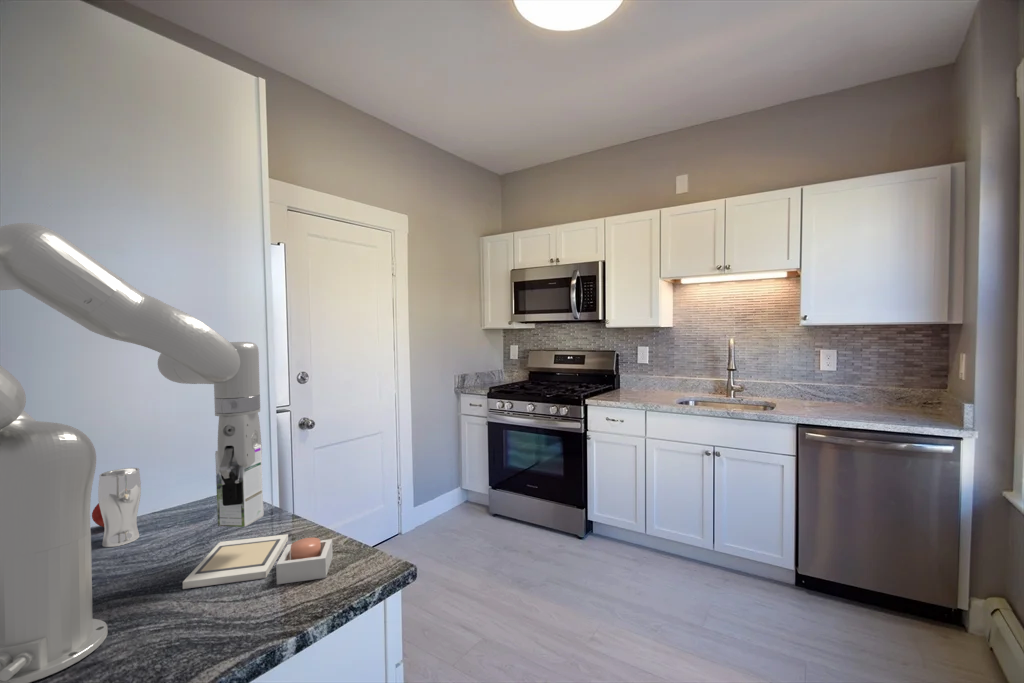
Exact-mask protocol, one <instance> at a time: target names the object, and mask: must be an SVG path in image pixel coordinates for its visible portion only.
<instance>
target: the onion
mask: <svg viewBox="0 0 1024 683" xmlns="http://www.w3.org/2000/svg"><path fill="white" fill-rule="evenodd" d="M91 519H92V521H93V522H94V523H95V524H96V525H98V526H99V527H103V528H104V522H103V518H102V514H101V510H100V506H99V502H98V503H97V504H96V505H95V507H94V508H93V510H92V513H91Z"/></svg>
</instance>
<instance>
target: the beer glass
mask: <svg viewBox="0 0 1024 683" xmlns="http://www.w3.org/2000/svg"><path fill="white" fill-rule="evenodd" d="M98 476H99V477H98V486H97V487H98V490H97V491H98V492H97V495H98V496H97V497H98V498H97V499H98V503H99V506H100V510H101V514H102V518H103V522H104V527H103V528H104V533H103V538H102V543H101V545H102V547H104V548H114V547H119V546H124V545H127V544H131V543H133V542H135V541H137V540H138V539H139V538H140V532H139V528H138V525H137V524H138V522H137V521H138V513H139V512H138V511H139V506H140V503H141V495H142V485H141V483H142V482H141V481H142V480H141V474H140V469H139V468H138V467H124V468H118V469H117V468H116V469H113V470H109V471H105V472H101V473H100V474H99V475H98Z"/></svg>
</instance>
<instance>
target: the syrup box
mask: <svg viewBox="0 0 1024 683" xmlns="http://www.w3.org/2000/svg"><path fill="white" fill-rule="evenodd" d="M254 448H255V450H254V451H255V462H253V463H252V464H251V465H250V466H248V467H244V466H241V480H240V482H243V503H242V504H238V505H229V506H224V505H223V495H222V483H221V482H222V478H221V473H220V470H219V468H220V467H219V464H218V450H216V451H215V454H214V456H215V458H214V459H215V485H216V487H215V488H216V489H215V490H216V511H217V512H216V513H217V514H216V515H217V516H216V517H217V518H216V519H217V526H218V527H228V528H229V527H233V528H245V527H248V526H249V525H251V524H252V523H255V522H256V521H258V520H260V519H261V518H262V517H264V498H263V497H264V494H263V458H262V457H263V450H262V451H261V445H255V446H254ZM231 466H238V463H237V462H234V463H232V464H231ZM233 472H234V473H235V475H236V470H233Z"/></svg>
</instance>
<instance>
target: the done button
mask: <svg viewBox="0 0 1024 683" xmlns="http://www.w3.org/2000/svg"><path fill="white" fill-rule="evenodd" d="M320 540H321V539H320V538H319V537H305V538H301V539H298V540H296V541H294V542H292V543H291V544H292V545H291V560H295V559H303V558H311V557H319V556H320V555H321V542H320Z"/></svg>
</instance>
